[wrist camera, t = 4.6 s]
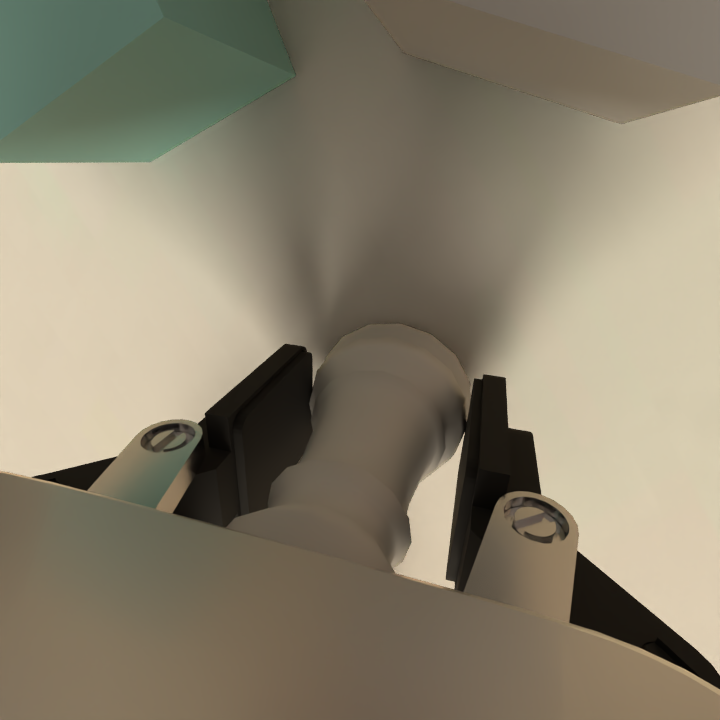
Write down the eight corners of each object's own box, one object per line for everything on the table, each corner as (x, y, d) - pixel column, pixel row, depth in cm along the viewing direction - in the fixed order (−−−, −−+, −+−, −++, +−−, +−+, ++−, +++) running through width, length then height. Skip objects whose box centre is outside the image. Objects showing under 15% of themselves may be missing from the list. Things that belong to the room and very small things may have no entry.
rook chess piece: (304, 335, 13) (85, 533, 6) (451, 299, 11) (382, 514, 4) (351, 458, 14) (218, 735, 7) (488, 442, 13) (481, 777, 6)
